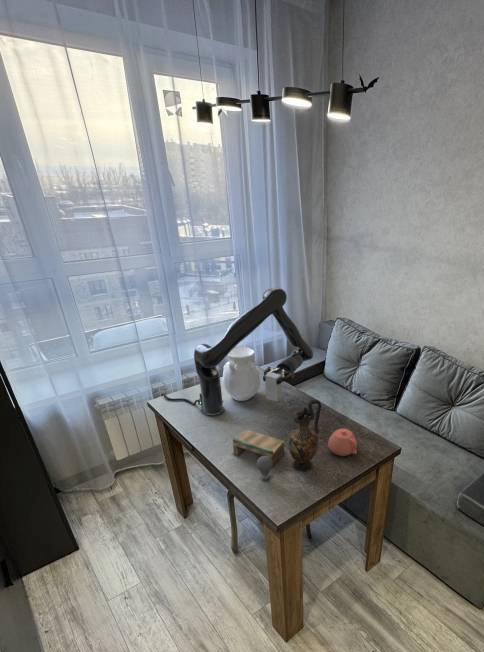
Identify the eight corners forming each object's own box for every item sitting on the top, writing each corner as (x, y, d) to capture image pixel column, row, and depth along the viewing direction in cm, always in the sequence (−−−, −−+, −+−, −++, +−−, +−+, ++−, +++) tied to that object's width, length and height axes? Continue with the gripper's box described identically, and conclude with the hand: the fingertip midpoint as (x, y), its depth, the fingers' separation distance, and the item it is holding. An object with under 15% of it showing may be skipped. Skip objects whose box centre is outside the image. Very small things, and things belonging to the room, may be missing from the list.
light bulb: (258, 472, 154) (256, 452, 149) (273, 472, 155) (273, 452, 150) (257, 483, 149) (255, 462, 144) (273, 483, 150) (272, 462, 144)
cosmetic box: (281, 397, 184) (281, 374, 178) (276, 401, 180) (276, 378, 174) (270, 394, 186) (269, 371, 180) (265, 398, 182) (264, 375, 176)
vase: (285, 458, 162) (285, 395, 147) (315, 454, 165) (317, 391, 150) (291, 477, 153) (291, 411, 137) (322, 472, 156) (325, 407, 141)
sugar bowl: (341, 438, 176) (343, 418, 171) (365, 452, 168) (367, 433, 163) (321, 449, 169) (322, 429, 164) (345, 465, 160) (347, 444, 155)
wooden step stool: (234, 454, 163) (232, 439, 160) (247, 441, 171) (246, 426, 168) (272, 466, 158) (271, 451, 154) (284, 452, 166) (284, 438, 162)
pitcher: (249, 408, 194) (246, 362, 181) (217, 401, 199) (212, 355, 186) (267, 392, 209) (266, 348, 196) (237, 385, 214) (233, 341, 202)
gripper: (274, 356, 190) (256, 370, 176) (301, 362, 185) (284, 377, 172) (274, 370, 193) (256, 384, 180) (301, 376, 189) (284, 392, 176)
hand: (270, 381), depth 176 cm, fingers closed on cosmetic box, 6 cm apart
